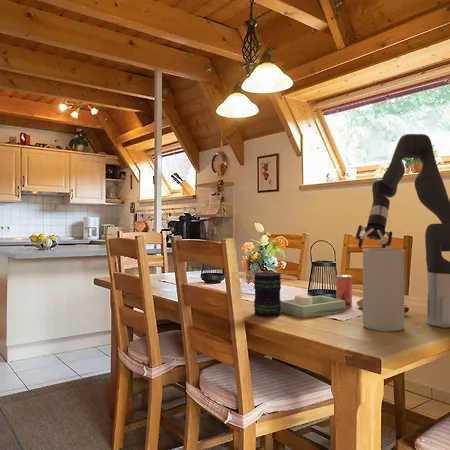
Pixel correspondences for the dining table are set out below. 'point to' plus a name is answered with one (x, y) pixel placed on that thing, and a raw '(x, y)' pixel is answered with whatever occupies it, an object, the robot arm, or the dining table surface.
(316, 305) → the green tray
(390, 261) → the cylinder vase
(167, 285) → the dining table surface
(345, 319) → the dining table surface
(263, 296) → the storage jar
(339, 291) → the tin
